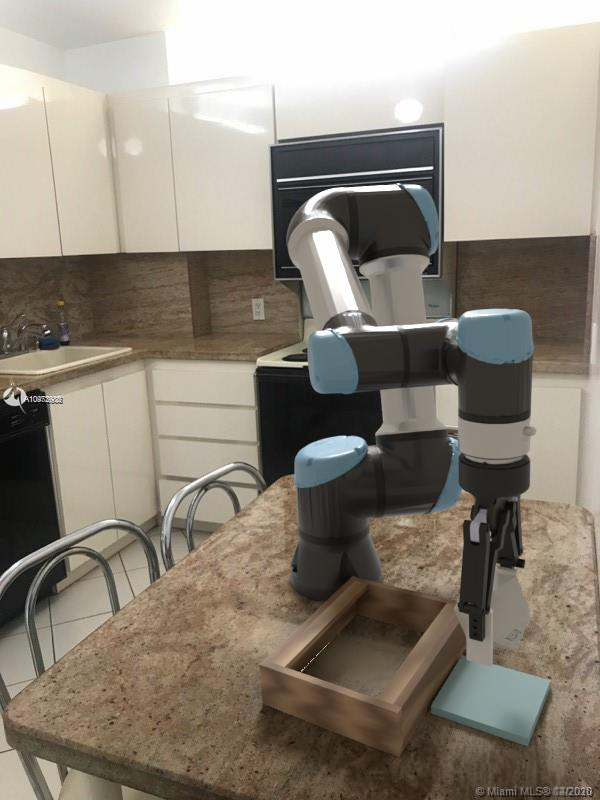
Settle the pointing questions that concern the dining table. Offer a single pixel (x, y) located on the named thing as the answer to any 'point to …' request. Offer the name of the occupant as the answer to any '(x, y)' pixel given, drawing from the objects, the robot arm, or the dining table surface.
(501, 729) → the pad
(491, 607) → the die
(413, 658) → the wooden tray
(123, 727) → the dining table surface
